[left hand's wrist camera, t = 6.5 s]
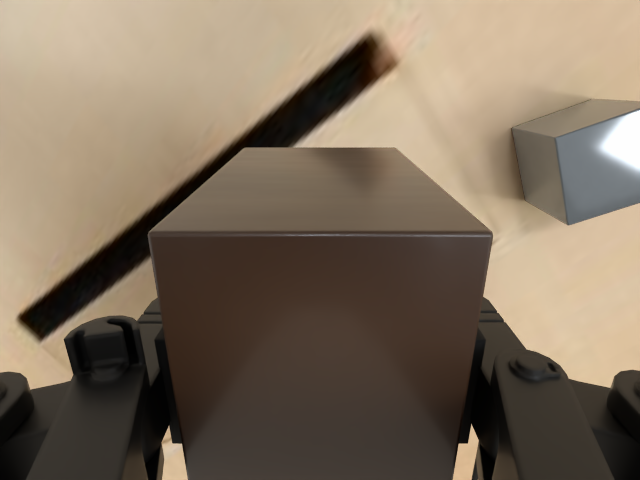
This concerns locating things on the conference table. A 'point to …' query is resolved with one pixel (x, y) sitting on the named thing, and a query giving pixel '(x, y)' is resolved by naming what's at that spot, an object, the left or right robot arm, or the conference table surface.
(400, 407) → the walnut bar
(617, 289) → the conference table surface
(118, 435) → the left robot arm
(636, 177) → the grey block
